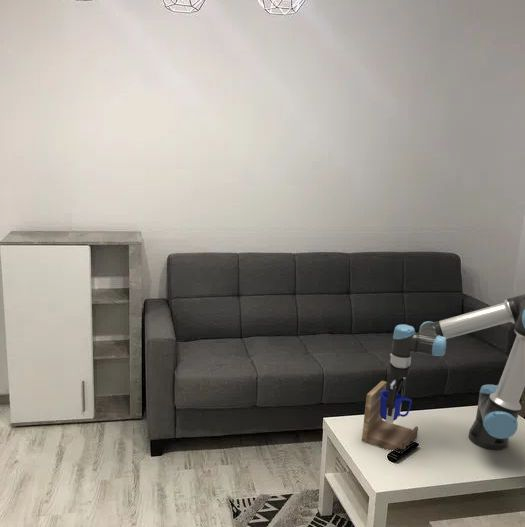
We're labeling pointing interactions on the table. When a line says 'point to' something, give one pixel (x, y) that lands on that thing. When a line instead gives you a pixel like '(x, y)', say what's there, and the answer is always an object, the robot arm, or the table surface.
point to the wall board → (372, 409)
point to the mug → (397, 406)
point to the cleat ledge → (391, 436)
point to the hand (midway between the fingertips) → (392, 418)
